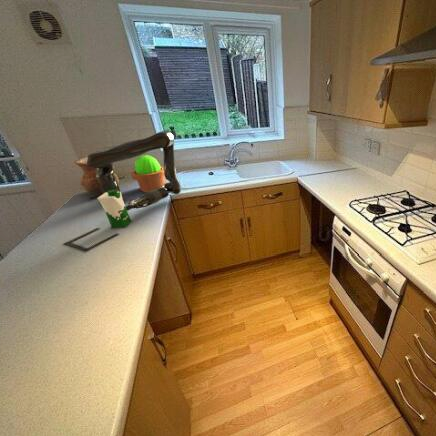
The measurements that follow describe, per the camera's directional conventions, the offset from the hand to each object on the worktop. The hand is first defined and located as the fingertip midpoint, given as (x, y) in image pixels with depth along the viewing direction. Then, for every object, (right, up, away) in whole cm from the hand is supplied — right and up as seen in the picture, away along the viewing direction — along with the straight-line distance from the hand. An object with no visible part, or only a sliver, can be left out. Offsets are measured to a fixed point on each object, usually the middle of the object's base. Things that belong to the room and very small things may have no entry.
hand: (124, 209), depth 132 cm
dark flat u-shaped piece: (-8, -15, -12) cm, 21 cm away
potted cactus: (-12, +18, +49) cm, 53 cm away
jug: (-45, +14, +44) cm, 64 cm away
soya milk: (-2, -9, 0) cm, 9 cm away
